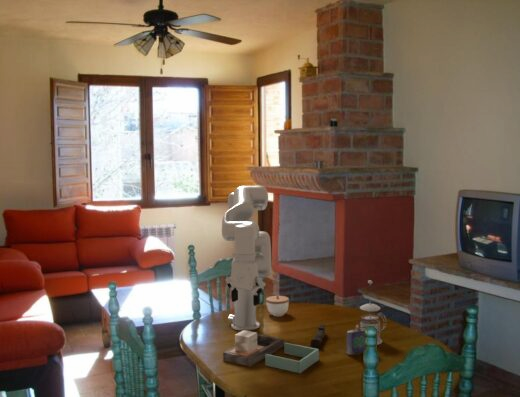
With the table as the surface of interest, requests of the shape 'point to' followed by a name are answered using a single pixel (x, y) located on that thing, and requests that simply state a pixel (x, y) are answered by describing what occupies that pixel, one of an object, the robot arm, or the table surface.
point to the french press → (371, 317)
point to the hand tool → (318, 337)
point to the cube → (246, 341)
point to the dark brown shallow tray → (254, 351)
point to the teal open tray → (293, 365)
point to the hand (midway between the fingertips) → (245, 302)
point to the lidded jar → (277, 305)
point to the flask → (355, 341)
